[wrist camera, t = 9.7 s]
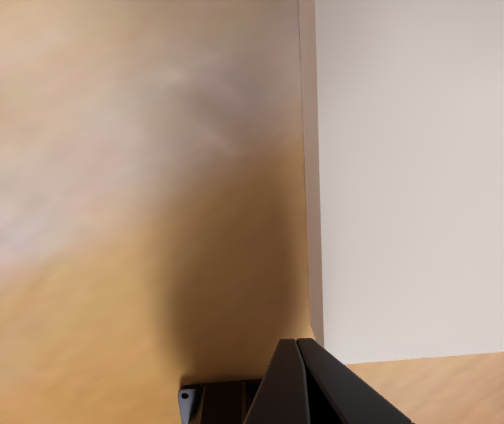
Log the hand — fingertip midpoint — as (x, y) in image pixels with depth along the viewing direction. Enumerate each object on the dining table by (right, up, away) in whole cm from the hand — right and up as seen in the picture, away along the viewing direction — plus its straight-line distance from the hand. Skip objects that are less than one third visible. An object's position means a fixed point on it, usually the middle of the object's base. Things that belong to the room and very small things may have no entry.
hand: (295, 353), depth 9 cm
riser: (+9, +7, +11) cm, 16 cm away
